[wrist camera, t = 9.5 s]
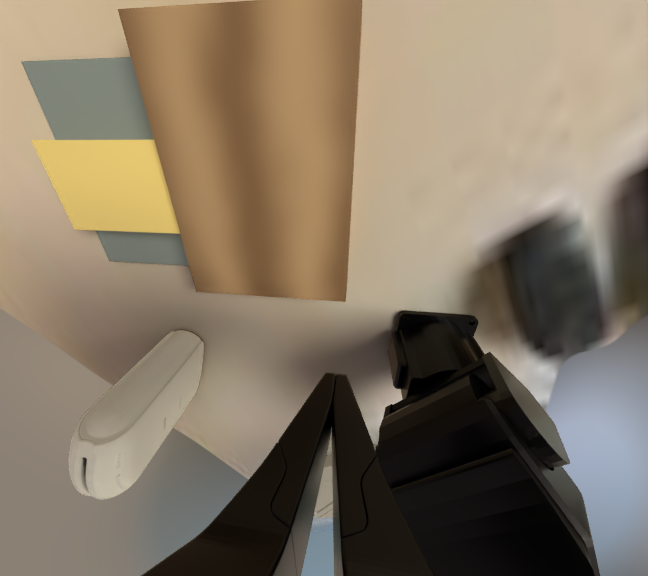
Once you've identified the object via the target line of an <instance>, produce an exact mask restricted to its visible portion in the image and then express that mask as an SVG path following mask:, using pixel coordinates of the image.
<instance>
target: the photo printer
mask: <svg viewBox="0 0 648 576" xmlns="http://www.w3.org/2000/svg"><path fill="white" fill-rule="evenodd" d="M203 355H204V343H203V342H202V341H201V339H200V338H199V337H198V336H197V335H195V334H193V333H191V332H189V331H185V330H178V331H176V332H174V331H172V332H170V333H169V334H167V335H166V336H165V337H164V338H163V339H162V340H161V341H160V342H159V343H158V344H157V345H156V346H155V347H154V348H153V349H152V350H151V351H149V352H148V353H147V354H146V355H145V356H144V357H143V358H142V359H141V360H140V361H139V362H138V363H137V364H136V365H135V366H134V367H133V368H132V369H131V370H129V371H128V372H127V373H126V374H125V375H124V376H123V377H122V378H121V379H120V380H119V381H118V382H117V383H116V384H115V385H114V386H113V387H111V388H110V389H109V390H108V391H107V392H106V393H105V394H104V395H103V396H102V397H101V398H100V399H99V400H98V401H97V402H96V403H94V405H92V406H91V407H90V408H89V409H88V410H87V412H85V414H84V415H83V416H82V417H81V419H80V420H79V422H78V424H77V426H76V428H75V431H74V433H73V436H72V439H71V443H70V448H69V473H70V477H71V480H72V483H73V485H74V487H75V488H76V489H77V490H78V491H79V492H80V493H81V494H83V495H86V496H93V497H94V498H96V499H108V498H112V497H114V496H117V495H119V494H121V493H122V492H124V491H125V490H127V489H128V488H129V487H130V486H131V485H133V484H134V483H135V481H136V480H137V479H138V478H139V477H140V475H141V474H142V472H143V471H144V469H145V468H146V466H147V465H148V463H149V462H150V460H151V459H152V458H153V456H154V455H155V453H156V452H157V450H158V449H159V447H160V446H161V444H162V443H163V441H164V440H165V439H166V437H167V435H168V434H169V433H170V431H171V430H172V428H173V427H174V425H175V424H176V422H177V421H178V419H179V418H180V416H181V415H182V413H183V412H184V410H185V409H186V407H187V406H188V404H189V403H190V401H191V400H192V398H193V397H194V395H195V393H196V391H197V389H198V386H199V382H200V377H201V371H202V364H203Z"/></svg>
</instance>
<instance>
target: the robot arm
mask: <svg viewBox="0 0 648 576" xmlns="http://www.w3.org/2000/svg"><path fill="white" fill-rule="evenodd" d="M404 316H407V317H406V318H403V317H404ZM470 321H473V322H471V323H469V322H470ZM477 325H478V320H477V319H476V317H474V316H470V315H455V314H441V313H427V312H413V311H403V312H401V313H400V314H399V317H398V323H397V328H396V331H394V332H393V333H392V335H391V341H390V347H389V352H388V354H389V360H390V367H391V373H392V379H393V386H394V387H395V388H396V389H401V393H402V398H403V400H401V401H400V402H398V403H396V404H394V405H392V404H391V405H389V406H387V407H386V408H385V413H384V418H383V420H382V423H381V426H380V428H379V441H378V445H377V446H376V448H374V446H373V443H372V440H371V438H370V435H369V433H368V430H367V427H366V425H365V422H364V419H363V417H362V414H361V411H360V409H359V406H358V404H357V401H356V398H355V396H354V393H353V390H352V388H351V385H350V383H349V380H348V377H347V375H345V374H335V373H328V372H327V373H325V374H324V376H323V377H322V379H321V380H320V382H319V383H318V385H317V386H316V387H315V389H314V390H313V392H312V393H311V395H310V396H309V397H308V399H307V400H306V402H305V403H304V405H303V406H302V408H301V409H300V410H299V412H298V413H297V415H296V416H295V418H294V419H293V421H292V422H291V423H290V425H289V426H288V428H287V429H286V431H285V432H284V434H283V435H282V436H281V438H280V439H279V441H278V442H279V443H276V445H275V446H274V448H273V449H272V451H271V452H270V453H269V455H268V456H267V458H266V459H265V460H264V462H263V463H262V464H261V466H260V467H259V468H258V469H257V470H256V472H255V473H254V474H253V475H252V477H251V478H250V479H249V480H248V481H247V483H246V484H245V485H244V486H243V487H242V488H241V490H240V491H239V492H238V493H237V494H236V495H235V496H234V498H233V499H232V500H231V501H230V502H229V504H228V505H227V506H226V507H225V508H224V509H223V510H222V511H221V513H220V514H219V515H218V516H217V517H216V518H215V519H214V521H213V522H212V523H211V524H210V525H209V526H208V527H207V528H206V529H205V530H204V531H203V532H201V533H200V534H199V535H198V536H196V538H194V539H193V540H191V541H190V542H188V543H187V544H186V545H184V546H183V547H181V548H180V549H178V550H177V551H176V552H174V553H173V554H171V555H170V556H169V557H167V558H166V559H164V560H163V561H161V562H160V563H158V564H157V565H156V566H154V567H153V568H151V569H150V570H149V571H147V572H146V573H144V574H143V575H141V576H301V573H302V568H303V563H304V558H305V554H306V549H307V544H308V539H309V535H310V530H311V525H312V521H313V516H314V511H315V507H316V502H317V497H318V492H319V488H320V483H321V478H322V473H323V469H324V464H325V459H326V455H327V450H328V445H329V440H330V435H331V429H332V484H333V534H334V535H333V537H334V576H600V574H599V569H598V564H597V559H596V555H595V550H594V545H593V541H592V536H591V532H590V527H589V523H588V518H587V514H586V509H585V504H584V500H583V497H582V494H581V492H580V491H579V489H578V487H577V486H576V485H575V484H574V482H573V481H572V479H571V478H570V477H569V476H568V474H567V473H566V471H565V470H564V468H563V467H562V466H563V465H567V464H570V461H569V458H568V456H567V453H566V451H565V448H564V446H563V443H562V441H561V438H560V436H559V433H558V431H557V428H556V426H555V424H554V422H553V421H552V419H551V418H550V417H549V416H548V414H547V413H546V412H545V410H544V409H543V408H542V407H541V405H540V404H539V403H538V402H537V400H536V399H535V398H534V396H533V395H532V394H531V393H530V391H529V390H528V389H527V388H526V387H525V386H524V385H523V384H522V383H521V382H520V381H519V380H518V379H517V378H516V377H515V376H514V375H513V374H512V373H511V372H510V371H509V370H508V369H507V368H506V367H505V366H504V365H503V364H502V363H500V362H499V361H498V360H497V359H496V358H495V357H494V356H493V355H492V354H491V353H490V352H489V353H487V354H484V353H483V351H482V350H481V348H480V346H479V345H478V343H477V342H476V340H475V339H474V337H473V336H474V333H475V331H476V328H477Z"/></svg>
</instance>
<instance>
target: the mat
mask: <svg viewBox="0 0 648 576" xmlns="http://www.w3.org/2000/svg"><path fill="white" fill-rule="evenodd" d="M22 65H23V67H24V69H25V71H26V74H27V76H28V78H29V81H30V83H31V85H32V87H33V90H34V92H35V94H36V96H37V99H38V101H39V103H40V105H41V108H42V110H43V112H44V114H45V117H46V119H47V121H48V123H49V126H50V128H51V130H52V132H53V135H54V137H55V139H56V140H154V137H153V134H152V130H151V127H150V123H149V120H148V116H147V112H146V109H145V105H144V102H143V98H142V94H141V91H140V87H139V84H138V80H137V76H136V73H135V69H134V66H133V62H132V58H131V57H123V58H98V59H73V60H49V61H24V62H22ZM96 232H97V234H98V236H99V239H100V241H101V243H102V245H103V248H104V250H105V252H106V254H107V257H108V259H109V261H115V262H133V263H151V264H169V265H186V266H189V263H188V259H187V256H186V252H185V249H184V245H183V242H182V238H181V234H176V233H151V232H126V231H100V230H96Z"/></svg>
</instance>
